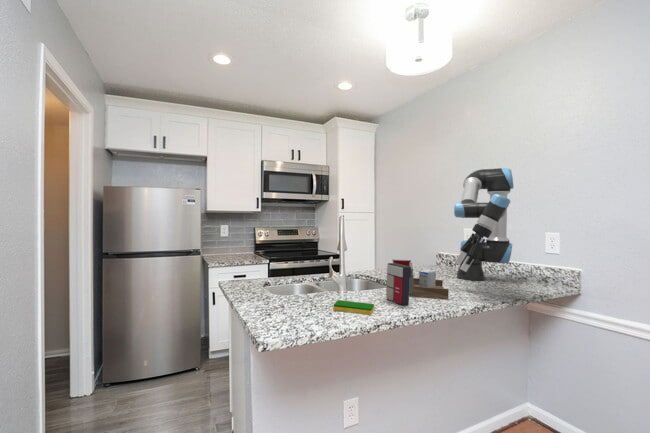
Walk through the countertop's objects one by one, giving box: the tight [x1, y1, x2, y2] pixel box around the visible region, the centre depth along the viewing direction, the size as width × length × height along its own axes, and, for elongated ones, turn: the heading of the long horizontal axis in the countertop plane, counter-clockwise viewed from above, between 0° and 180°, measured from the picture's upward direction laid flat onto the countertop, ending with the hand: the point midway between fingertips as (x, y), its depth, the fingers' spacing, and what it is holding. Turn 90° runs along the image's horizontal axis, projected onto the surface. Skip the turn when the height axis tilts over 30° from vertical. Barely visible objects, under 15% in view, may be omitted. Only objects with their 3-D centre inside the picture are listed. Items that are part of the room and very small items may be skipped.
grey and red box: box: [385, 262, 411, 306], centre depth 124 cm, size 11×4×15 cm, turn 23°
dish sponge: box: [332, 299, 375, 316], centre depth 111 cm, size 7×14×2 cm, turn 72°
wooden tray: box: [409, 262, 449, 300], centre depth 143 cm, size 22×16×12 cm
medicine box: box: [418, 269, 437, 288], centre depth 142 cm, size 8×4×9 cm, turn 134°
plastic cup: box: [391, 258, 412, 266], centre depth 171 cm, size 11×11×12 cm
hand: (459, 266), depth 141 cm, fingers open, 13 cm apart
